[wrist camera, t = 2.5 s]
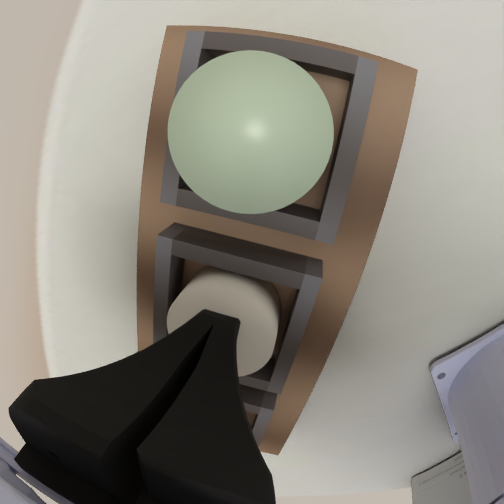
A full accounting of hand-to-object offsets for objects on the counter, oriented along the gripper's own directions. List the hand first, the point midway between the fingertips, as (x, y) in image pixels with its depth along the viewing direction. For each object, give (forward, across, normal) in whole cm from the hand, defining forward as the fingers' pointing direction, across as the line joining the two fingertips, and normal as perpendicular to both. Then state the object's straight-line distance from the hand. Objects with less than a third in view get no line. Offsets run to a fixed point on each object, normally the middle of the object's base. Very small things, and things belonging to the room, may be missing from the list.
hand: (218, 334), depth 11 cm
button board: (+4, 0, 0) cm, 4 cm away
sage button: (+1, 0, -7) cm, 7 cm away
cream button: (+2, 0, 0) cm, 2 cm away
